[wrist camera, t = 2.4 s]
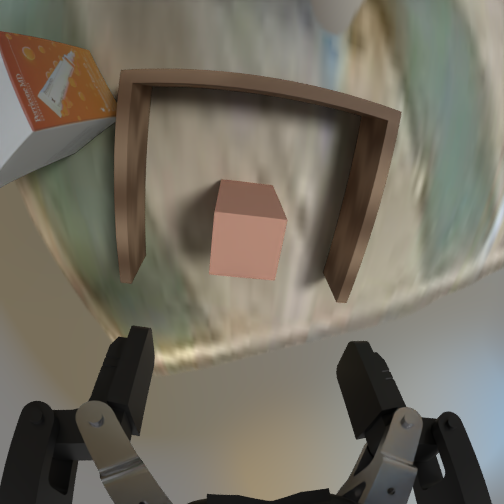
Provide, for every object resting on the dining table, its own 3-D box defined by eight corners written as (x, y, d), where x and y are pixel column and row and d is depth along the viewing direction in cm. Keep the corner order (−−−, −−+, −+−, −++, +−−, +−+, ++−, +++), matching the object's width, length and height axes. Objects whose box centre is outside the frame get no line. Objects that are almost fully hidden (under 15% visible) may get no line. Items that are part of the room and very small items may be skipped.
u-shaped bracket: (142, 75, 20) (120, 70, 15) (373, 108, 22) (401, 112, 17) (136, 254, 28) (120, 282, 23) (331, 273, 30) (346, 302, 25)
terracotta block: (221, 179, 25) (214, 211, 18) (272, 185, 25) (287, 220, 18) (216, 226, 27) (209, 274, 20) (264, 232, 27) (274, 280, 20)
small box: (126, 115, 21) (35, 133, 10) (75, 154, 22) (-20, 202, 11) (90, 47, 18) (-8, 27, 6) (42, 90, 19) (-59, 104, 7)
